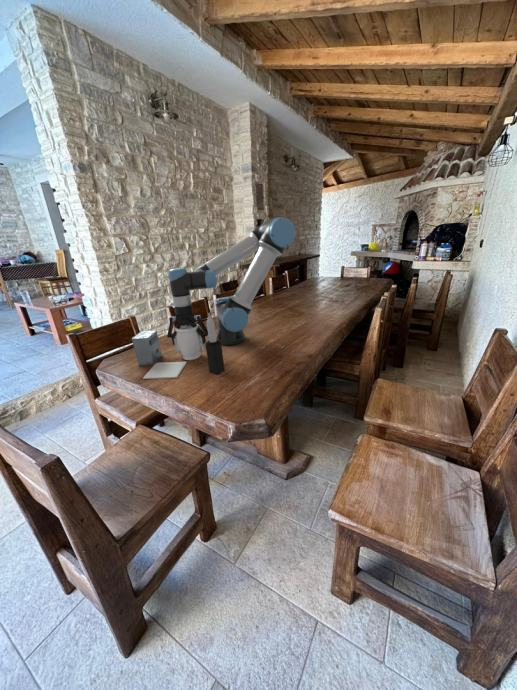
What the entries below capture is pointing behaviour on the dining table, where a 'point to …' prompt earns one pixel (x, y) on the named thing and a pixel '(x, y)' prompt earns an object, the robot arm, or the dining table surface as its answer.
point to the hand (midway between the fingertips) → (190, 350)
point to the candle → (214, 349)
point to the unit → (147, 347)
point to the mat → (165, 370)
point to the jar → (189, 342)
